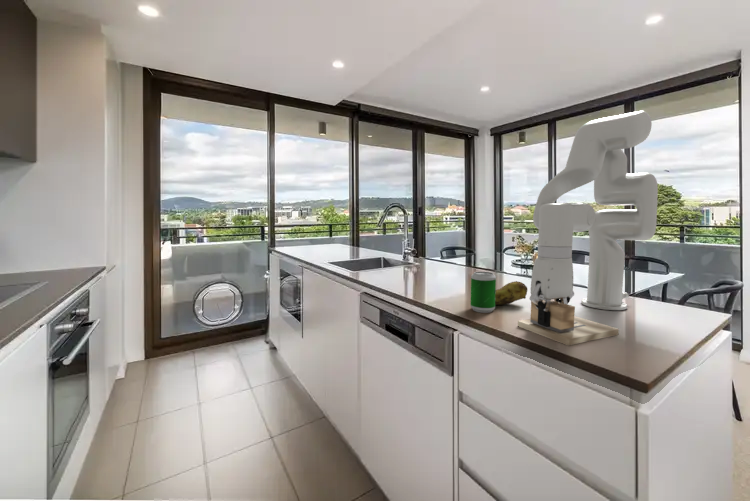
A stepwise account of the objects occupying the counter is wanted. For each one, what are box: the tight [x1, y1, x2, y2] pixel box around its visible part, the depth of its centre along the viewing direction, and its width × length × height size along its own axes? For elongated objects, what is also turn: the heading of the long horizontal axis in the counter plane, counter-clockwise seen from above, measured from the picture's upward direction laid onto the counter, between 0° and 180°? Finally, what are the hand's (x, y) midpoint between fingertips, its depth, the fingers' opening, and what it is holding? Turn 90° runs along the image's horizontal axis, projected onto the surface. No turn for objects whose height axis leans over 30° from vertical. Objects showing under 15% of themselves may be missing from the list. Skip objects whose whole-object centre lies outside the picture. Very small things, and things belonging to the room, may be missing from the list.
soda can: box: [470, 271, 497, 314], centre depth 107 cm, size 8×8×12 cm
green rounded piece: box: [495, 280, 528, 306], centre depth 113 cm, size 8×13×8 cm, turn 76°
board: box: [517, 315, 620, 346], centre depth 88 cm, size 18×15×2 cm
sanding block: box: [529, 299, 576, 333], centre depth 85 cm, size 4×9×6 cm, turn 22°
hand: (551, 323), depth 85 cm, fingers closed on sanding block, 4 cm apart
